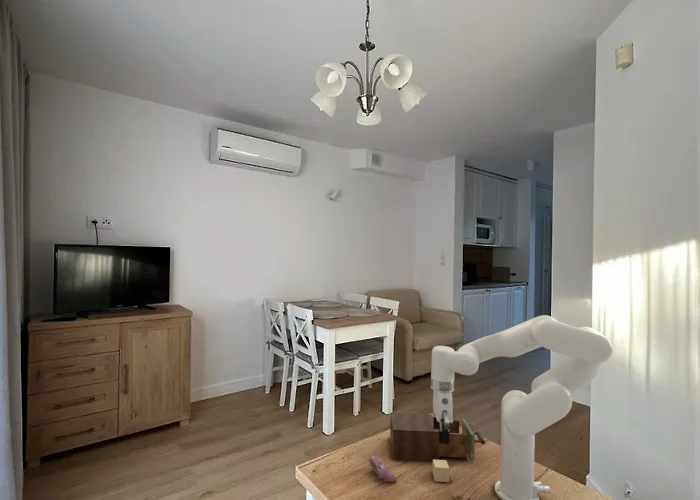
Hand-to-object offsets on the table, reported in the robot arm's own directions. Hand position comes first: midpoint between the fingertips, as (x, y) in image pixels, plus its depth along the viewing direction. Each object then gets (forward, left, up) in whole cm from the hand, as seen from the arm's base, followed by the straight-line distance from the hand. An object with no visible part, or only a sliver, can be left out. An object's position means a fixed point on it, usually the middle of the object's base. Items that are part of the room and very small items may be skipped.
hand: (440, 435), depth 122 cm
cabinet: (+7, -17, -14) cm, 23 cm away
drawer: (-9, -17, -13) cm, 23 cm away
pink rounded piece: (+20, +1, -14) cm, 24 cm away
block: (0, 0, -14) cm, 14 cm away
